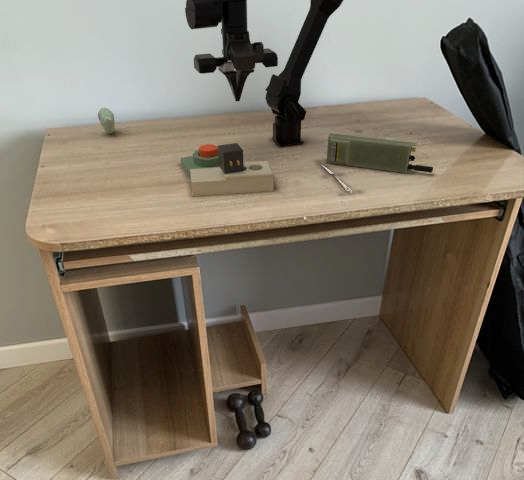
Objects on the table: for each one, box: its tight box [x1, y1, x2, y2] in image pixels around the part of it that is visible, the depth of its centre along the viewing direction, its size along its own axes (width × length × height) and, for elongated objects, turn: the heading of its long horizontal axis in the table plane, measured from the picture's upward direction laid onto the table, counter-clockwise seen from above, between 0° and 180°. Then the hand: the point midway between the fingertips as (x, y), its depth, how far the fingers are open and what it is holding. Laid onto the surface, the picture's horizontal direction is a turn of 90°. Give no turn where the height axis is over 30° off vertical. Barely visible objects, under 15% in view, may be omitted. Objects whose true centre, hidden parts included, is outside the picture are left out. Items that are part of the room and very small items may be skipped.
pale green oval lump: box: [97, 107, 116, 135], centre depth 138 cm, size 8×4×7 cm, turn 14°
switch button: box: [198, 143, 218, 158], centre depth 119 cm, size 4×4×2 cm
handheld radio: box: [326, 132, 434, 174], centre depth 119 cm, size 7×3×25 cm
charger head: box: [217, 142, 244, 174], centre depth 109 cm, size 4×6×5 cm
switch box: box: [180, 149, 219, 180], centre depth 121 cm, size 12×9×4 cm
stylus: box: [321, 163, 353, 194], centre depth 117 cm, size 4×1×19 cm
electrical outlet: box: [190, 160, 275, 197], centre depth 113 cm, size 7×4×18 cm
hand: (237, 100), depth 122 cm, fingers closed
